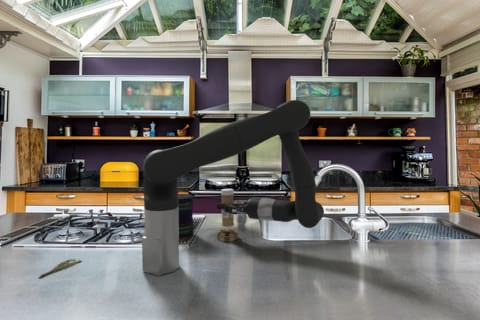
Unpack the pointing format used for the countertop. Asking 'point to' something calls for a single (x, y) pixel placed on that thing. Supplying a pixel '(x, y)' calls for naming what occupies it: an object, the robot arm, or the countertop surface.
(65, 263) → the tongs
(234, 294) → the countertop surface
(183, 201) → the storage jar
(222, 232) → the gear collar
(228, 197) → the sprinkles bottle
